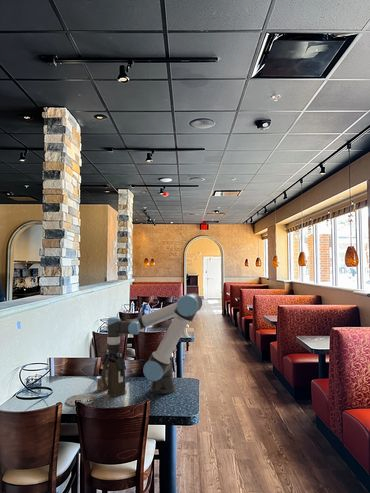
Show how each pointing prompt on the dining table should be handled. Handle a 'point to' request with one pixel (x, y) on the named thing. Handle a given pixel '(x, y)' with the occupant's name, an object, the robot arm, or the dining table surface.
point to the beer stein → (113, 379)
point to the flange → (83, 397)
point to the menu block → (101, 383)
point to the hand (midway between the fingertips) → (113, 379)
